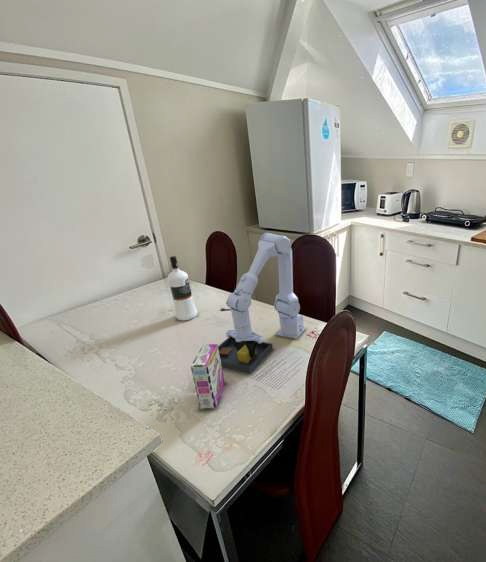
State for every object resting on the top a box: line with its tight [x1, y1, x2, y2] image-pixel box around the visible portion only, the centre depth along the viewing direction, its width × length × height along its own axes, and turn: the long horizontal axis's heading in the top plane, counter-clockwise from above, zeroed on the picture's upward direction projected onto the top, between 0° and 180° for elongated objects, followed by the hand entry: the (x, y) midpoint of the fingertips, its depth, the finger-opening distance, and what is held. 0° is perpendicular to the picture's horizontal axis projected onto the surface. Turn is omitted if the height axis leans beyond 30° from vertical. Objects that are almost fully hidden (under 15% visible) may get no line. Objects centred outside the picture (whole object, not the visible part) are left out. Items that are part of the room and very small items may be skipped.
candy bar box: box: [190, 343, 226, 410], centre depth 97 cm, size 11×5×16 cm, turn 5°
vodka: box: [166, 255, 198, 322], centre depth 142 cm, size 9×9×30 cm
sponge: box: [237, 345, 257, 363], centre depth 117 cm, size 4×6×4 cm, turn 161°
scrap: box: [219, 347, 232, 357], centre depth 120 cm, size 4×4×1 cm
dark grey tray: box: [218, 336, 273, 375], centre depth 118 cm, size 19×15×3 cm
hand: (247, 355), depth 117 cm, fingers closed on sponge, 4 cm apart
